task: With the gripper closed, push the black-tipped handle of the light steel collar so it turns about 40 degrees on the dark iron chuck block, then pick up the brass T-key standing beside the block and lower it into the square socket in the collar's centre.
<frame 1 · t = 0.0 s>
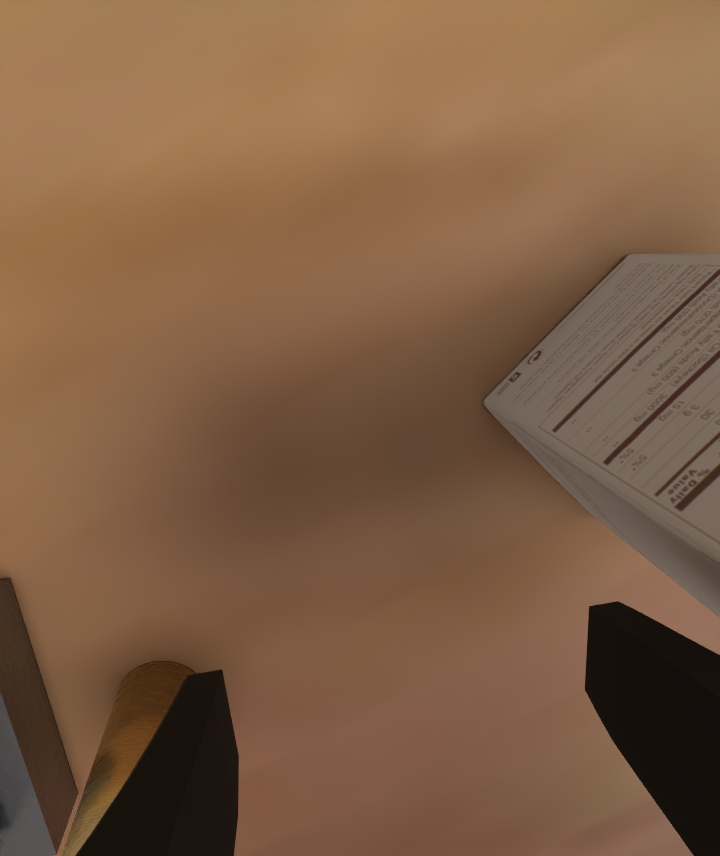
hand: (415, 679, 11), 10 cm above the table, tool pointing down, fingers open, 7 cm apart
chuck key: (161, 695, 22), on the table
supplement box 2: (605, 391, 21), on the table
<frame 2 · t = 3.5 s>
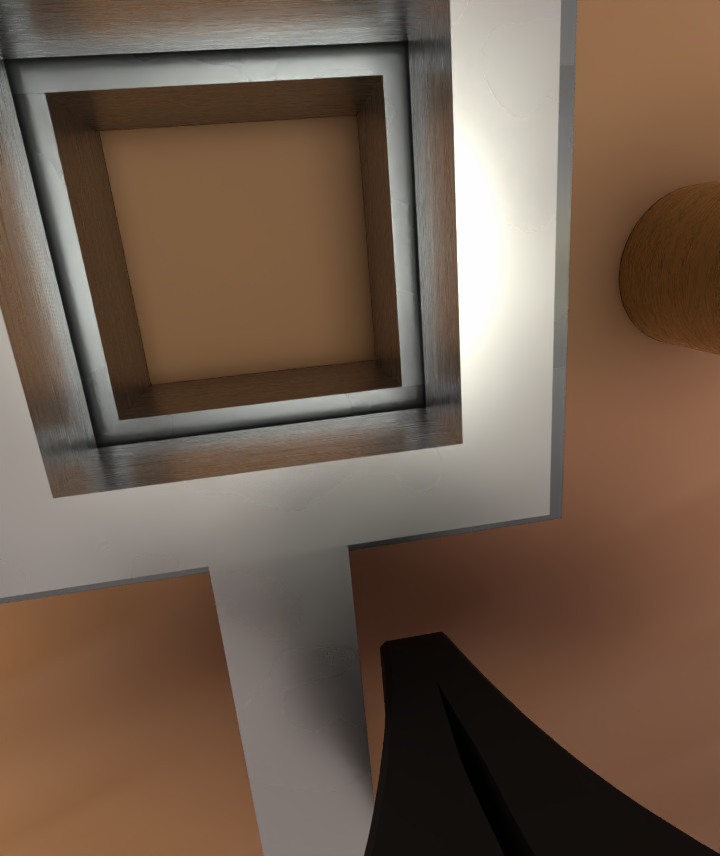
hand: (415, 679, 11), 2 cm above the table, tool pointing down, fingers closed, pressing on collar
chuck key: (690, 267, 12), on the table
chuck block: (249, 255, 10), on the table
collar: (289, 600, 9), point 4 cm above the table, hinge at 0.0°, touching gripper
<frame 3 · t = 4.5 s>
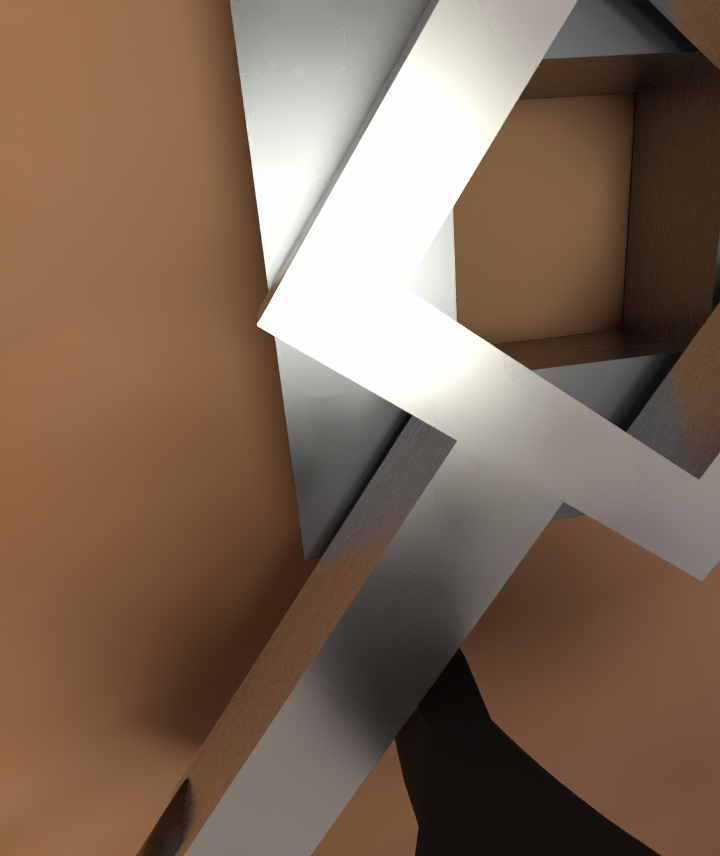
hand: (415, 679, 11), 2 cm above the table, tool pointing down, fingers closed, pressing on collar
chuck block: (523, 227, 11), on the table
collar: (437, 521, 8), point 4 cm above the table, hinge at 36.8°, touching gripper
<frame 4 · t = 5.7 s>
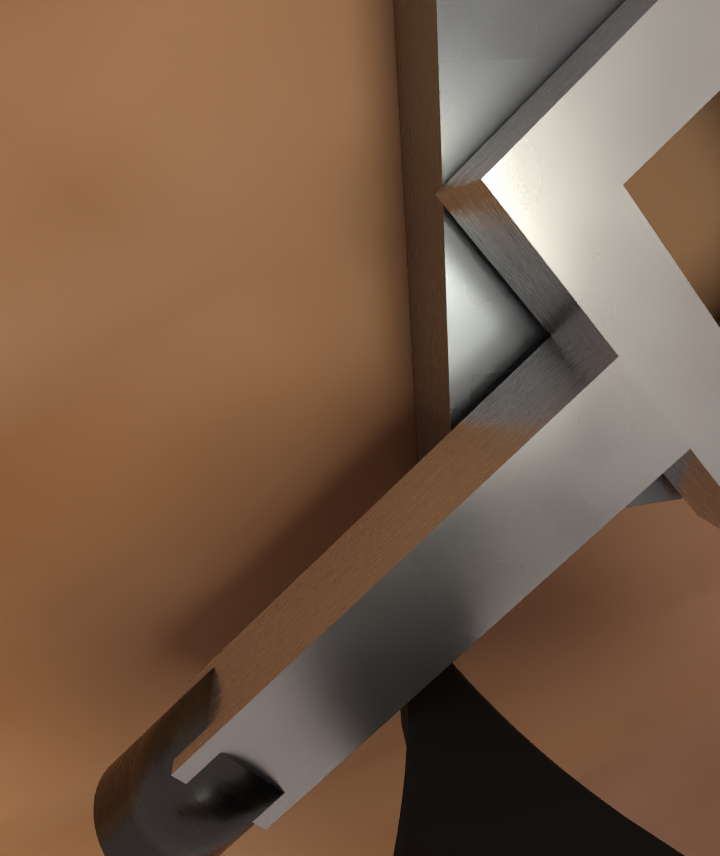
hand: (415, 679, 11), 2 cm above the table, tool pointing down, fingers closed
chuck block: (650, 216, 11), on the table
collar: (549, 450, 8), point 4 cm above the table, hinge at 50.8°, touching gripper
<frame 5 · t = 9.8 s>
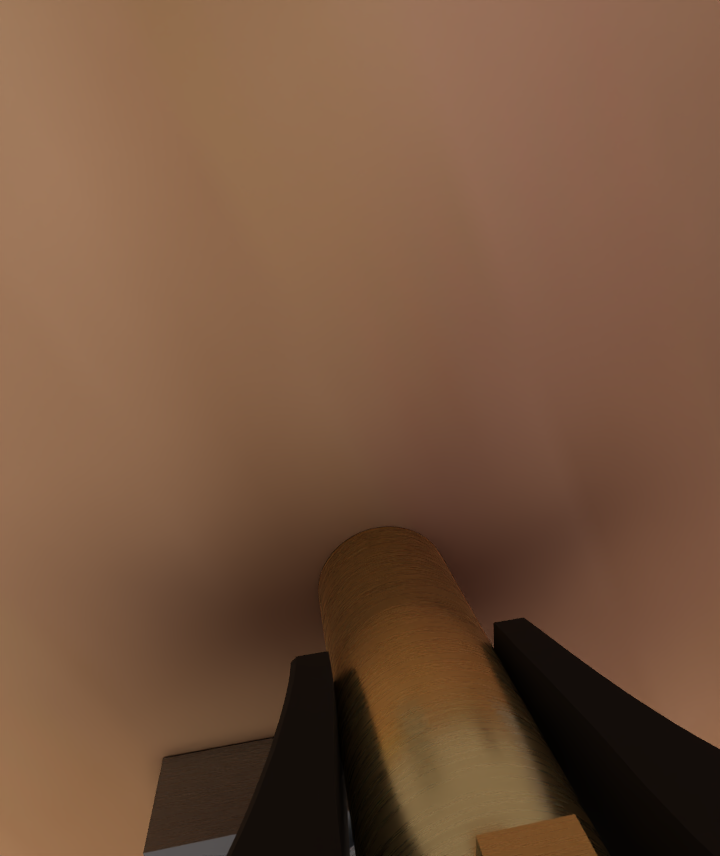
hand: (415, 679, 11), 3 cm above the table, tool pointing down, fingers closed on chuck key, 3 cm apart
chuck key: (383, 585, 14), on the table, touching gripper
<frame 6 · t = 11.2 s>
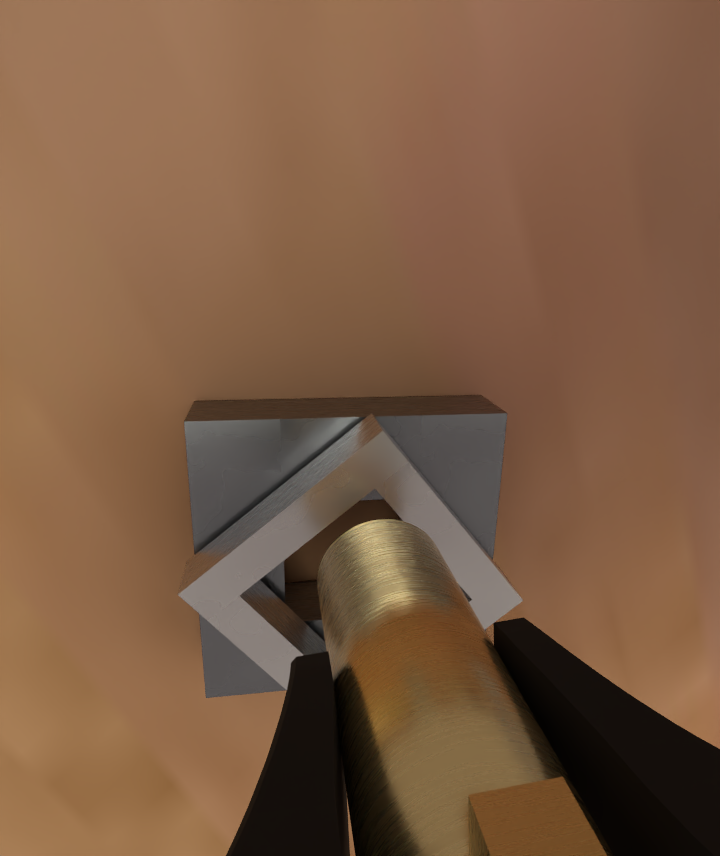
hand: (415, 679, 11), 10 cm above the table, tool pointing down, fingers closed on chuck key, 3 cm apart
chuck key: (380, 577, 14), point 7 cm above the table, touching gripper
chuck block: (342, 527, 21), on the table
collar: (445, 673, 19), point 4 cm above the table, hinge at 50.9°
when the fingers open (5 cm above the table, at t = 13.0 s): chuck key drops 1 cm, resting in chuck block.
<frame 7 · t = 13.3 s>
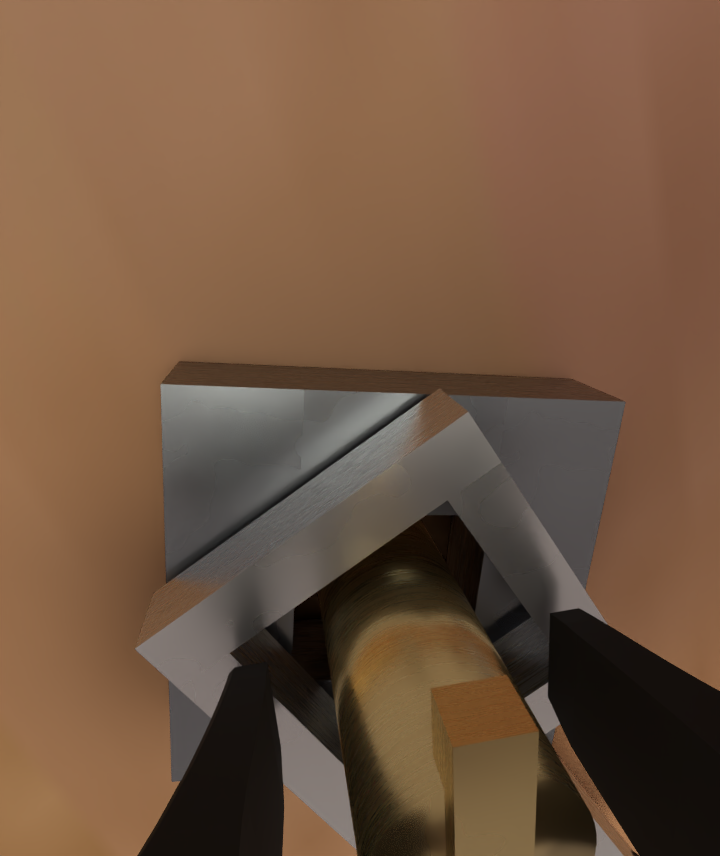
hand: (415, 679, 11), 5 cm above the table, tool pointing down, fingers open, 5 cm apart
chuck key: (370, 548, 16), resting in chuck block
chuck block: (371, 549, 16), on the table
collar: (510, 763, 14), point 4 cm above the table, hinge at 50.9°
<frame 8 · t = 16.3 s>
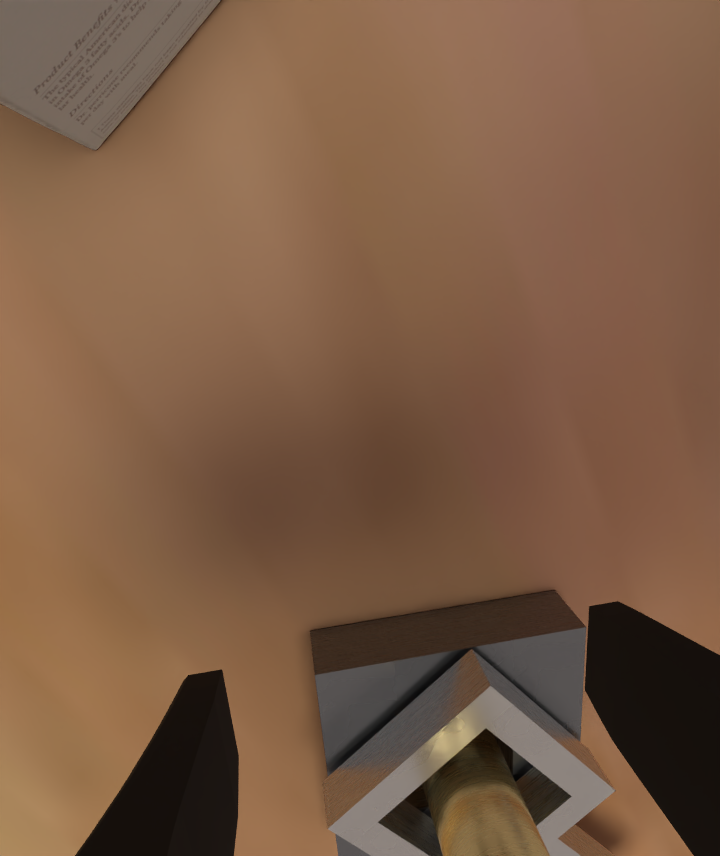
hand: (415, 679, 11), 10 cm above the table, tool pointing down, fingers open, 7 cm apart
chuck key: (439, 709, 24), resting in chuck block
chuck block: (440, 710, 24), on the table
collar: (548, 844, 22), point 4 cm above the table, hinge at 50.9°
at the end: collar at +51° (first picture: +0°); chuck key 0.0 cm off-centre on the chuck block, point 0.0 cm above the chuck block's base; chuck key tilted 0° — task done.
